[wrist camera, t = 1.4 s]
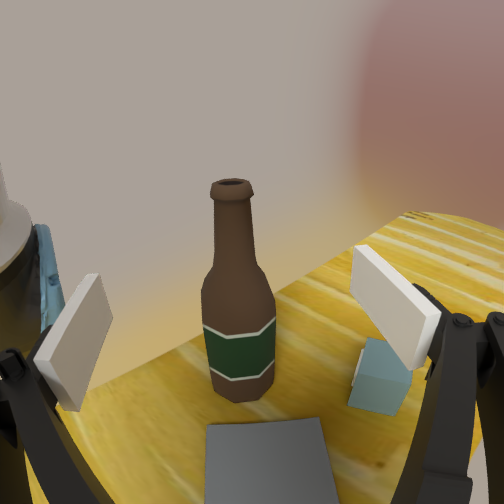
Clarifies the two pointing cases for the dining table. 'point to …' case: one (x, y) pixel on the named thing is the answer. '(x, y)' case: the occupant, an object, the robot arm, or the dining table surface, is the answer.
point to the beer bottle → (237, 301)
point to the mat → (268, 464)
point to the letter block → (379, 379)
